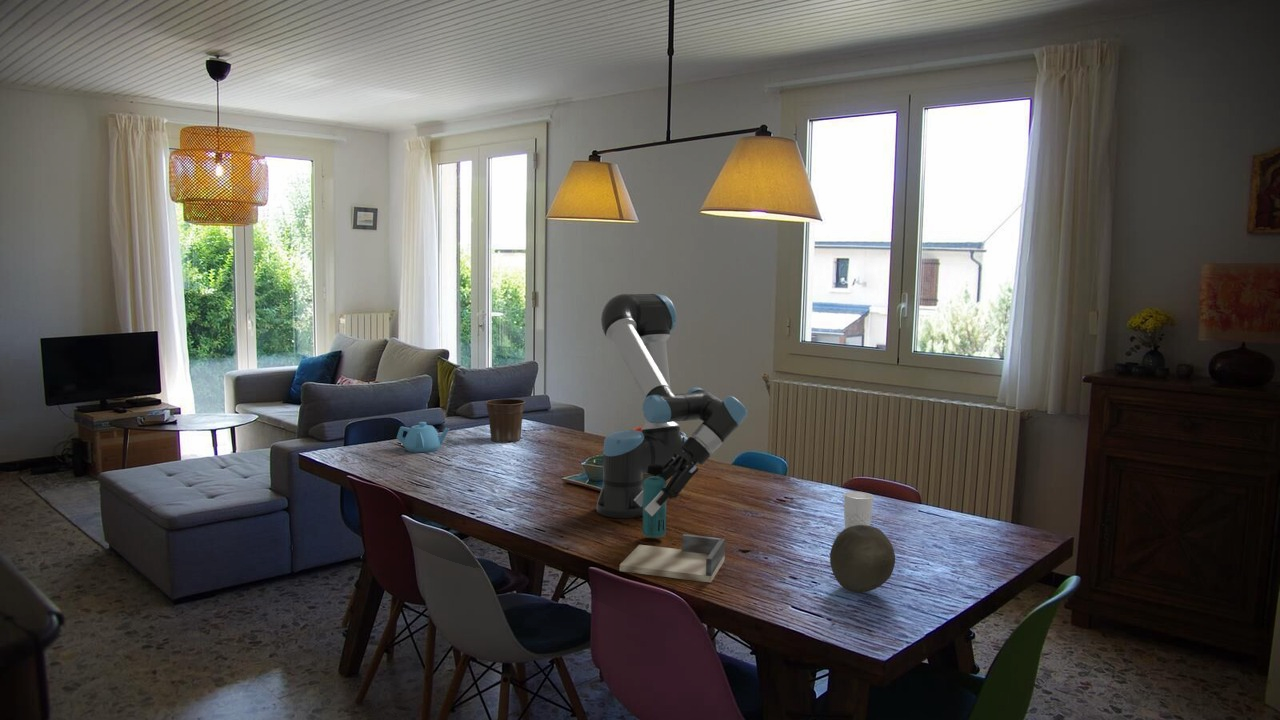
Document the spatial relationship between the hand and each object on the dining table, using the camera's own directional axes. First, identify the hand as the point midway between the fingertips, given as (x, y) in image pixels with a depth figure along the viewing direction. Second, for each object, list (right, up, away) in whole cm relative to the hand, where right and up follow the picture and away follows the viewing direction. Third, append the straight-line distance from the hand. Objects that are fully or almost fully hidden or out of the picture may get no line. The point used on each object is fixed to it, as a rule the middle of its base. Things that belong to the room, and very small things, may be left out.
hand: (642, 507), depth 223 cm
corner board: (+7, -11, -18) cm, 22 cm away
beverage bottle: (+3, -9, +2) cm, 9 cm away
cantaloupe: (+49, -13, -33) cm, 60 cm away
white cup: (+60, -9, +14) cm, 62 cm away
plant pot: (-56, +6, +129) cm, 141 cm away
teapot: (-85, +4, +107) cm, 137 cm away
